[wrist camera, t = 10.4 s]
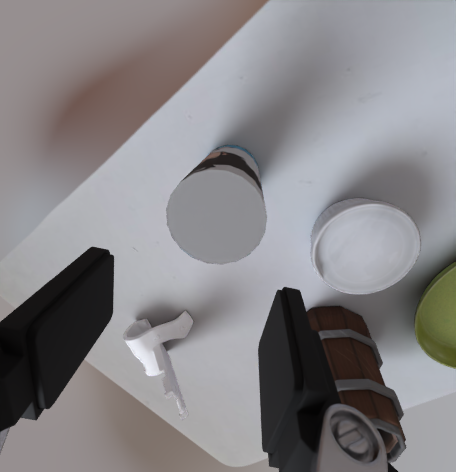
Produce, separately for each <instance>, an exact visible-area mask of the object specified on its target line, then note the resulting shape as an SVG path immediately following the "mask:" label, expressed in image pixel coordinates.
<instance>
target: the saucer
mask: <svg viewBox="0 0 456 472" xmlns="http://www.w3.org/2000/svg"><path fill="white" fill-rule="evenodd" d="M414 328H415V335H416V339H417V341H418V343H419V345H420V347H421V348H422V350H423V351H424V352H425V353H426V354H427V355H428V356H429V357H431V358H432V359H433V360H435V361H437V362H438V363H440V364H443V365H445V366H448V367H451V368H455V369H456V261H455V262H454V263H452V264H451V265H449V266H448V267H447V268H445V269H444V270H443V271H442V272H441V273H439V274H438V275H437V276H436V277H435V278H434V279H433V280H432V282H431V283H430V284H429V285H428V287H427V288H426V289H425V291H424V293H423V294H422V296H421V298H420V300H419V303H418V306H417V309H416V313H415V321H414Z"/></svg>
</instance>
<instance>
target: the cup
mask: <svg viewBox="0 0 456 472" xmlns="http://www.w3.org/2000/svg"><path fill="white" fill-rule="evenodd" d="M166 213H167V225H168V228H169V231H170V233H171V236H172V238H173V239H174V241H175V242H176V243H177V245H178V246H179V247H180V248H181V250H183V251H184V252H186V253H187V254H188V255H190V256H191V257H192V258H194V259H197V260H200V261H203V262H205V263H211V264H226V263H231V262H236V261H238V260H240V259H242V258H244V257H246V256H248V255H249V254H250V253H251V252H252V251H253V250H254V249H255V248H256V247H257V246H258V245H259V243H260V241H261V239H262V237H263V235H264V233H265V230H266V222H267V214H266V208H265V203H264V197H263V192H262V186H261V181H260V175H259V170H258V165H257V162H256V161H255V159H254V157H253V156H252V155H251V154H250V153H249V152H248V151H247V150H246V149H244V148H241V147H239V146H235V145H226V146H222V147H218V148H217V149H216V150H214V151H213V152H211V153H210V154H209V155H208V156H207V157H206V158H205V159H204V160H203V161H202V162H201V163H200V164H199V165H198V166H197V167H195V168H194V169H193V170H192V171H191V172H190V173H189V174H188V175H187V176H186V177H185V178H184V179H183V180H182V181H181V182H180V183H179V184H178V186H177V187H176V188H175V190H174V191H173V192H172V194H171V195H170V199H169V202H168V205H167V209H166Z"/></svg>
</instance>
